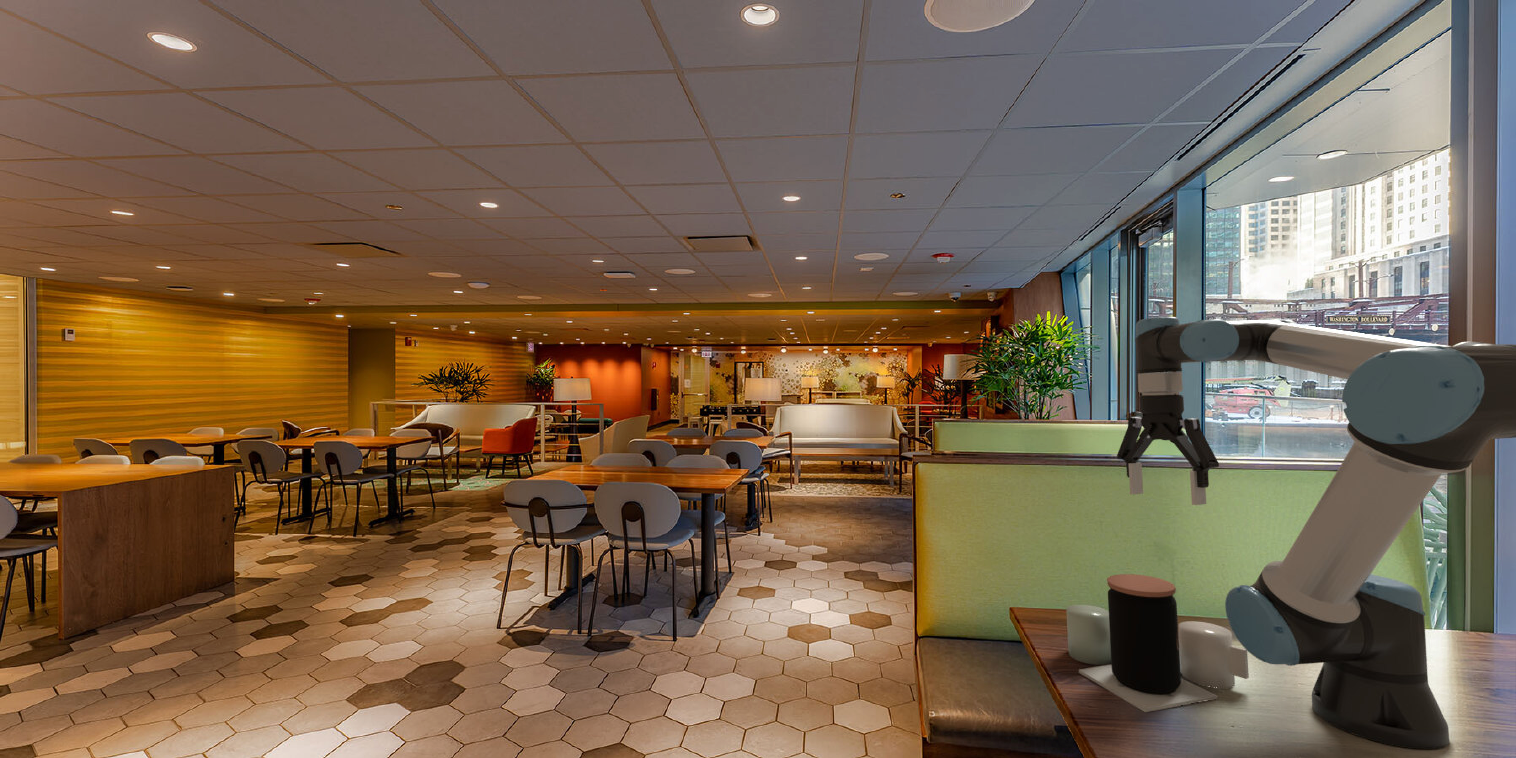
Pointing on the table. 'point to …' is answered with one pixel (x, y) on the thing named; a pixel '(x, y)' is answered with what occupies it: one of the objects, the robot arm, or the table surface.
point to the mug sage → (1089, 634)
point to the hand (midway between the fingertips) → (1166, 498)
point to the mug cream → (1210, 655)
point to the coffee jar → (1144, 633)
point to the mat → (1147, 701)
